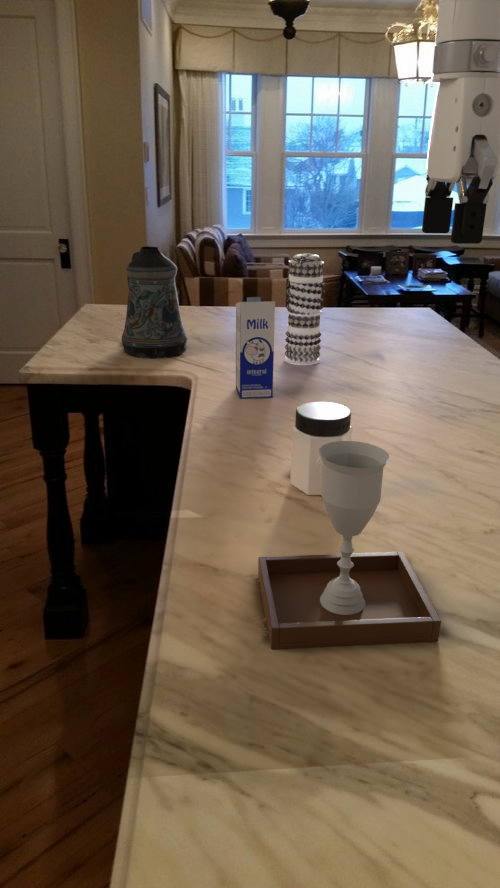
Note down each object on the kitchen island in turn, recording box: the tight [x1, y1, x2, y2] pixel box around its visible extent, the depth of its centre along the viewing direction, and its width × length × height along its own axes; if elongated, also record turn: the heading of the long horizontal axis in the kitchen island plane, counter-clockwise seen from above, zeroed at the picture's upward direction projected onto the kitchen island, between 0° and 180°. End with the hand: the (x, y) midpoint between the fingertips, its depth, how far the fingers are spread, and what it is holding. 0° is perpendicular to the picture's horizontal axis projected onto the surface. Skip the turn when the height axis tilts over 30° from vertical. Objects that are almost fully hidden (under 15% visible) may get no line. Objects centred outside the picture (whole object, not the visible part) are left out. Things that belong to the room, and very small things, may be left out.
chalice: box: [319, 440, 391, 615], centre depth 75 cm, size 7×7×18 cm
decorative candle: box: [284, 253, 326, 366], centre depth 166 cm, size 9×9×25 cm
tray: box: [257, 551, 442, 650], centre depth 79 cm, size 18×14×3 cm
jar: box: [289, 401, 354, 496], centre depth 105 cm, size 9×8×12 cm
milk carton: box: [235, 296, 276, 400], centre depth 144 cm, size 7×7×20 cm
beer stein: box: [121, 246, 189, 359], centre depth 174 cm, size 16×19×25 cm
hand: (449, 237), depth 79 cm, fingers open, 9 cm apart
